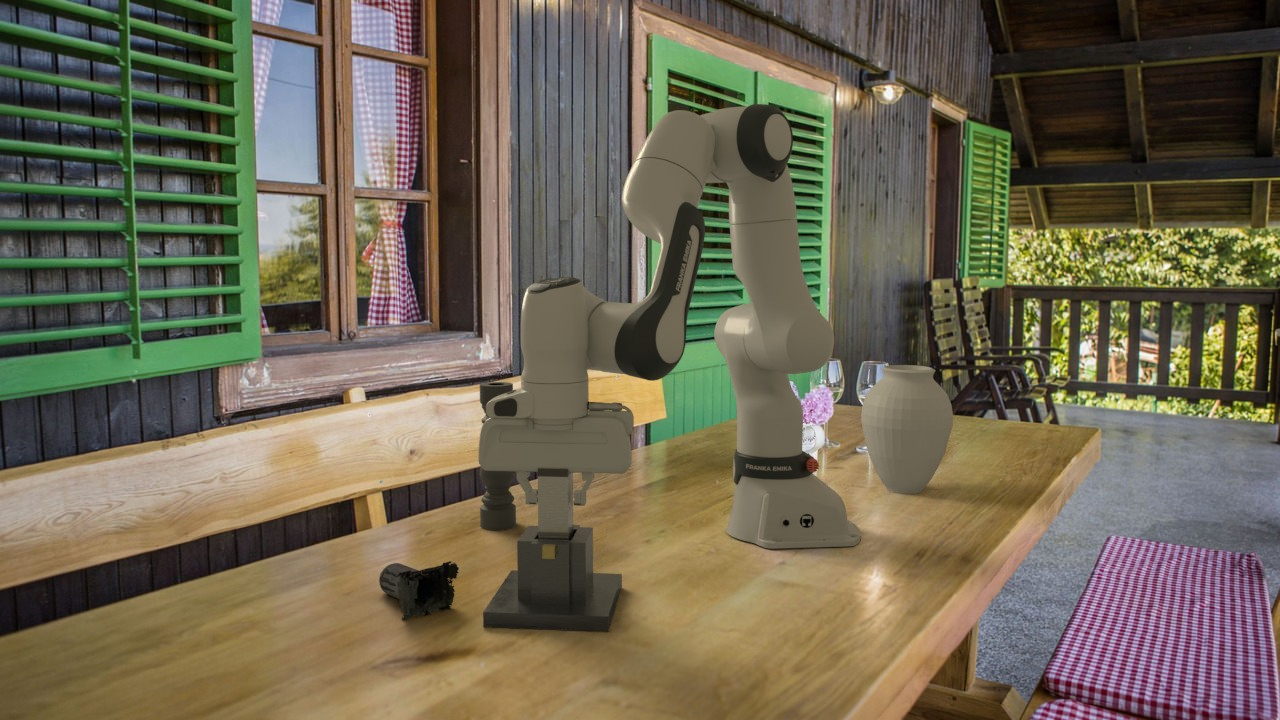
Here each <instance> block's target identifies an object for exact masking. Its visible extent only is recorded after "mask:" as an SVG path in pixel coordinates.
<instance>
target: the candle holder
mask: <svg viewBox="0 0 1280 720" xmlns="http://www.w3.org/2000/svg"><path fill="white" fill-rule="evenodd" d="M512 390H514V383H512V382H507V381H504V382H503V381H490V382H483V383H480V384H479V403H480V404H481V409H482V410H483V413H484V414H485V416H483V417H482V418H481V423H482V425H483V424H484V422H485V421H486V420H488V419H489V418H490V417H489V416H488V415H487V413H486V404H487V403H488V402H489V401H490V400H491V399H493V398H494V397H496V396H499V395H501V394H505V393H508V392H510V391H512ZM515 476H516V471H485V470H484V469H483V468H482V467H481V466H480V469H479V477H480V480H481V482H482V483H483V484H484V488H485V490H486V491H485V492H484V494H483V496H482V497H481V503H482V504H481V505H480V507H479V513H480V514H479V515H480V516H479V520H480V527H481V529H483V530H487V531H503V530H508V529H513V528H514V527H516V526H517V506H516V504H515V503H514V501H515V497H514V496H515V495H513V494H512V492H511V490H510V489H511V486H512V485H511V484H512V483H513V481H514V479H515Z"/></svg>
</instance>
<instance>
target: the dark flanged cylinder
mask: <svg viewBox="0 0 1280 720" xmlns="http://www.w3.org/2000/svg"><path fill="white" fill-rule="evenodd" d="M382 569H383V570H381V571H380V574H379V578H378V580H379V581H378V582H379V586H380V588H381V590H382V591H383V592H384V593H385V594H387V595H389V596H391V597H393V598H395V599H398V602H399V603H398V604H399V608H401V613H402V615H403V617H401V618H400V619H401V620H404V619H408V618H413V617H418V616H422V615H424V617H426V616H428V615H431V616H432V615H433V614H432V612H436V611H438V612H440V611H444V610H451V606H453V602H454V598H455V592H456V590H455V586H454V585H453V582H454V581H453V580H456V579H457V578H458V574H459V573H460V572H459V570H460V568H459V567H458V564H457V562H456V561H455V562H453V561H450V560H449V561H446V562H443V563H442V564H441V565H437V566H433V567H427V568H424V569H420V570H418V569H417V568H416V569H415V568H414V567H410V566H408V565H404V564H402V563H399V562H394V563H390V564H388V565H386V566H385V567H384V568H382Z"/></svg>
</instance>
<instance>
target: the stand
mask: <svg viewBox="0 0 1280 720" xmlns="http://www.w3.org/2000/svg"><path fill="white" fill-rule="evenodd" d="M537 532H538V525H527V527H526V528H525V530H524V531H523V533H522V534H521V535H520V536H519V538H518V539H517V541H516V543H517V544H516V548H517V550H516V554H517V557H516V558H517V561H516V562H517V570H513V569H512V570H510V572H509V573H508V575H507V576H506V578H505V579H504V581H503V582H502V583H501V585H500V586H499V588H498V589H497V591H496V592H495V594H494V595H493V596H492V598H491V600H490V601H489V602H488V604H487V606H486V607H485V608H484V610H483V612H482V615H483V616H482V620H483V621H482V622H483V623H482V625H483V626H482V627H483V628H492V629H493V628H497V629H498V628H499V629H518V630H519V629H524V630H525V629H526V630H546V631H547V630H550V631H573V632H574V631H576V632H577V631H578V632H581V631H582V632H598V633H599V632H601V633H602V632H603V633H604V632H605V633H608V632H609V631H610V627H611V623H612V621H613V618H614V614H615V611H616V607H617V605H618V601H619V598H620V594H621V592H622V588H623V574H622V573H609V572H608V573H605V572H604V573H603V572H602V573H601V572H599V573H598V572H594V527H587V526H586V527H585V526H584V527H583V526H581V524H574V529H573V538H572V540H547V539H538V536H537Z"/></svg>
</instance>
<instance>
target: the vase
mask: <svg viewBox="0 0 1280 720" xmlns="http://www.w3.org/2000/svg"><path fill="white" fill-rule="evenodd" d="M880 370H881V371H882V375H883V376H882V378H881V379H880V380H878V381H877V382H876V383H875V384H874V385H873V386H871V388H869V390H868V391H867V394H866V396H865V397H864V399H863V402H862V407H861V414H860V415H861V417H860V418H861V419H860V421H861V426H862V431H863V437H864V441H865V446H866V450H867V453H868V456H869V459H870V460H871V463H872V465H873V467H874V470H875V472H876V474H877V476H878V477H879V480H880V481H881V483H882V484H883V485H884V486H885V489H886V491H888V492H891V493H895V494H901V495H902V494H903V495H915V494H917V495H918V494H921V493H922V492H923V490H924V488H926V487H927V485H928V484H929V483H930V482H931V480H932V479H933V477H934V475H935V474H936V472H937V470H938V469H939V467H940V464H941V462H942V461H943V458H944V457H945V453H946V450H947V447H948V445H949V444H948V443H949V440H950V436H951V433H952V428H953V427H954V425H953V424H954V423H953V422H954V412H953V407H952V403H951V400H950V397H949V395H948V393H947V392H946V391H945V390H944V388H942V387H941V386H940V384H939V383H938V382H936V380H935V379H934V375H935V372H936V371H937V370H936V369H934V368H933V367H930V366H926V365H925V366H924V365H915V364H913V365H909V364H893V365H892V364H891V365H885V366H883V367H880Z"/></svg>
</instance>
